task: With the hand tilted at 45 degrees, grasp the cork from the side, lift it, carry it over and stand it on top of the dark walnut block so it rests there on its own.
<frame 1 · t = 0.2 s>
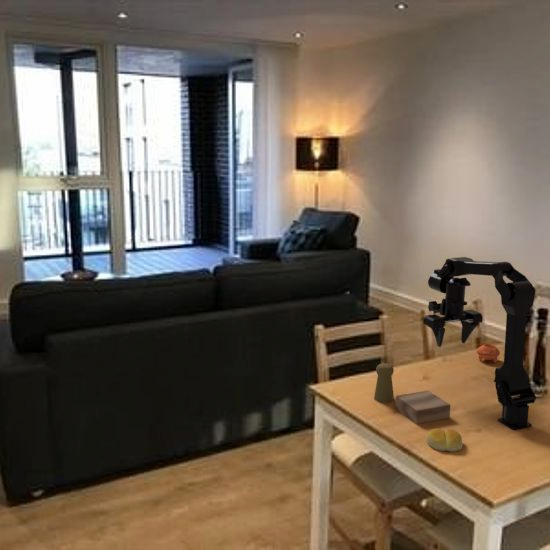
hand: (451, 344, 188), 14 cm above the table, tool pointing down, fingers open, 9 cm apart
bread roll: (445, 445, 154), on the table
pot: (487, 361, 214), on the table
walnut block: (422, 413, 172), on the table
cork: (384, 399, 182), on the table
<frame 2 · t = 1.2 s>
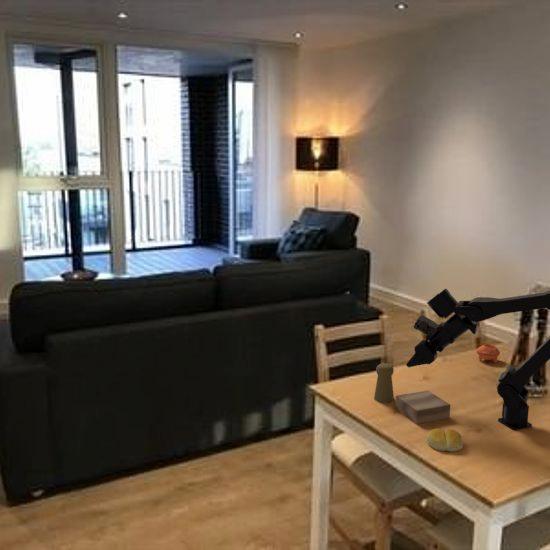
hand: (411, 361, 176), 13 cm above the table, tool tilted 45°, fingers open, 9 cm apart
nothing on the table moved.
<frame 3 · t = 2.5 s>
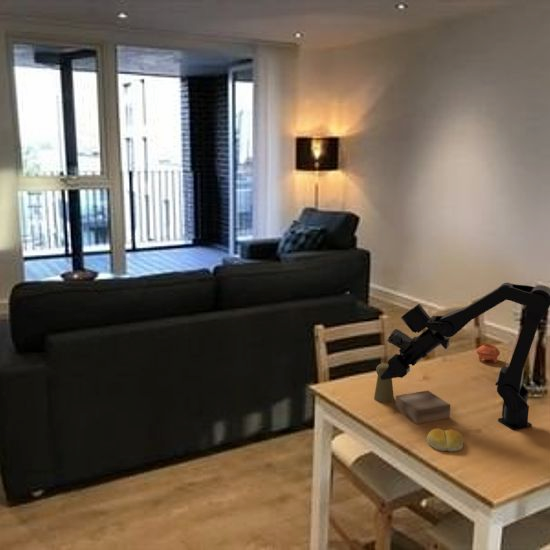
hand: (385, 373, 181), 8 cm above the table, tool tilted 45°, fingers open, 9 cm apart
nothing on the table moved.
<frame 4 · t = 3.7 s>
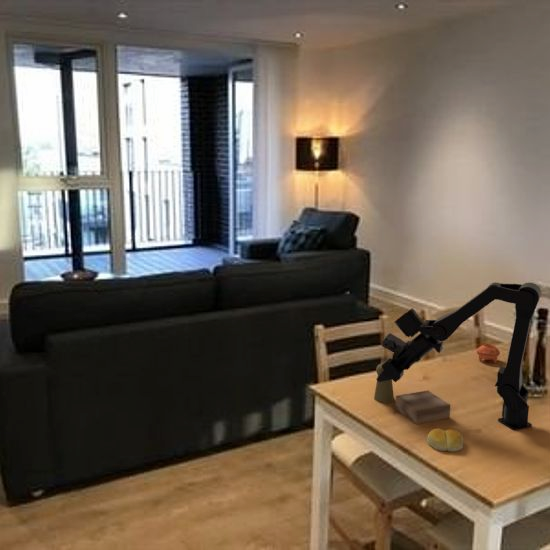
hand: (380, 377, 182), 7 cm above the table, tool tilted 45°, fingers closed on cork, 5 cm apart
cork: (384, 399, 182), on the table, touching gripper
everything else where it was.
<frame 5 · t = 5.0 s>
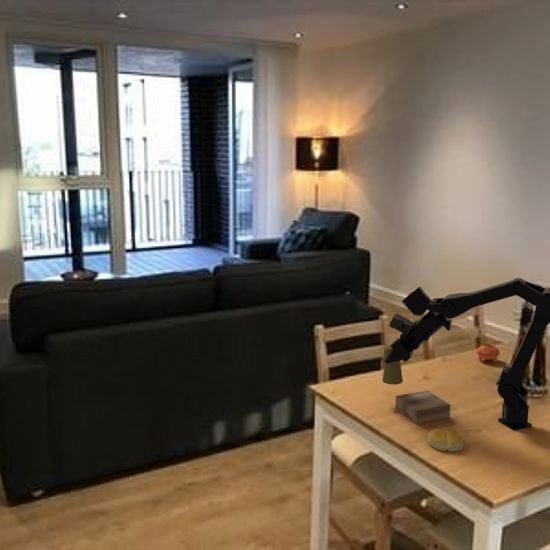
hand: (388, 359, 178), 13 cm above the table, tool tilted 45°, fingers closed on cork, 5 cm apart
cork: (392, 381, 179), point 7 cm above the table, touching gripper
everything else where it was.
when the fingers open (11 cm above the table, at t = 6.4 s): cork stays where it is, resting on walnut block.
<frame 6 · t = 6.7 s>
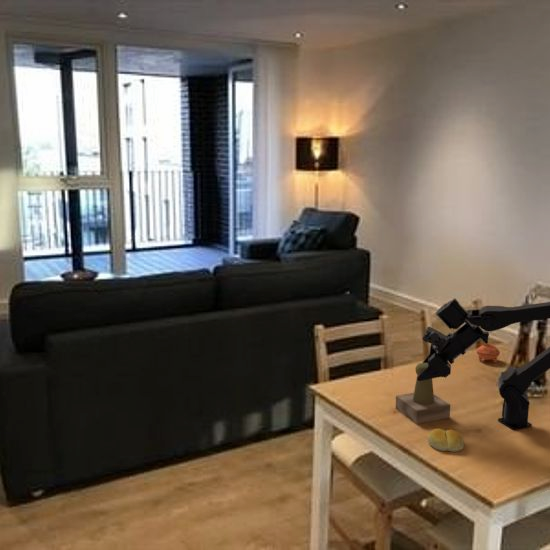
hand: (418, 374, 170), 12 cm above the table, tool tilted 45°, fingers open, 8 cm apart
cork: (423, 401, 171), point 4 cm above the table, touching walnut block
everything else where it was.
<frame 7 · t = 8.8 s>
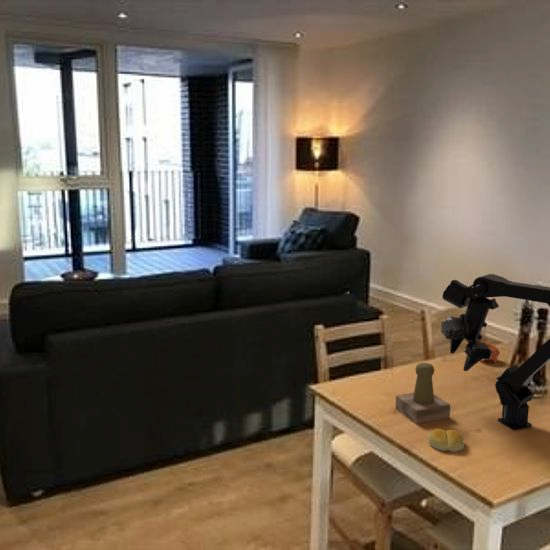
hand: (458, 361, 175), 13 cm above the table, tool tilted 15°, fingers open, 9 cm apart
nothing on the table moved.
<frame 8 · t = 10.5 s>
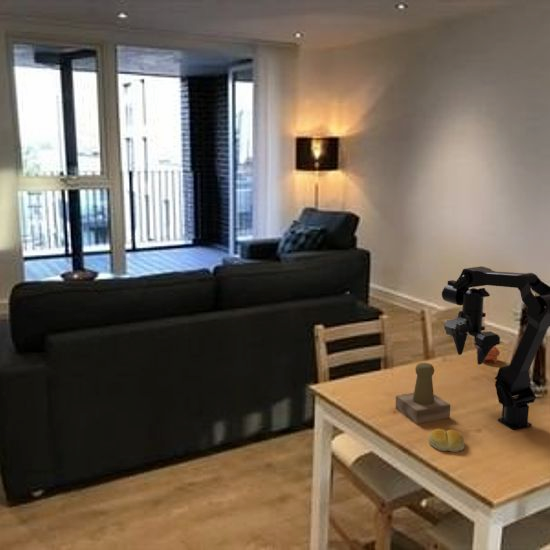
hand: (469, 359, 178), 13 cm above the table, tool pointing down, fingers open, 9 cm apart
nothing on the table moved.
at the end: cork inside the target area on the walnut block (0.2 cm from its centre), point 3.8 cm above the walnut block's base; cork tilted 0°; the gripper is holding nothing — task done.
